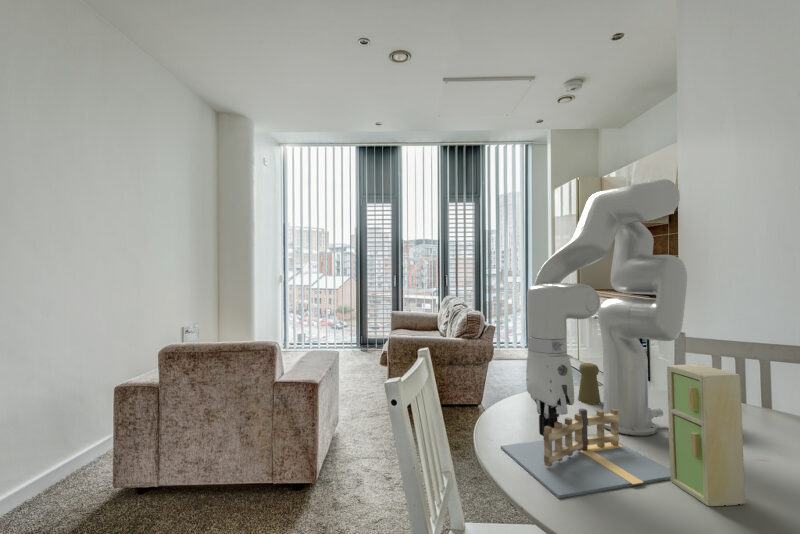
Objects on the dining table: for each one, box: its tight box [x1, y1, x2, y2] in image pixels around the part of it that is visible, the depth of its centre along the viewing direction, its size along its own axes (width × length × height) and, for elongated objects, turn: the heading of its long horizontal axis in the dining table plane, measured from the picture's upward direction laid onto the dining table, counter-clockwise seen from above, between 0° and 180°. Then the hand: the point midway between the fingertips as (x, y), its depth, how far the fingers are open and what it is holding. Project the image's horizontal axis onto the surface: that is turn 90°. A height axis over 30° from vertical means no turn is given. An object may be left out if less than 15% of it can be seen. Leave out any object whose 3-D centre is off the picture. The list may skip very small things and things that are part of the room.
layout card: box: [500, 433, 671, 499], centre depth 75 cm, size 26×20×1 cm
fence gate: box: [543, 413, 583, 467], centre depth 76 cm, size 12×1×7 cm, turn 126°
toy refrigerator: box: [666, 363, 746, 507], centre depth 65 cm, size 8×7×21 cm
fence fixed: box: [578, 408, 620, 451], centre depth 81 cm, size 9×2×9 cm, turn 105°
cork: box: [577, 362, 601, 405], centre depth 112 cm, size 6×6×11 cm
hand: (548, 435), depth 77 cm, fingers closed
